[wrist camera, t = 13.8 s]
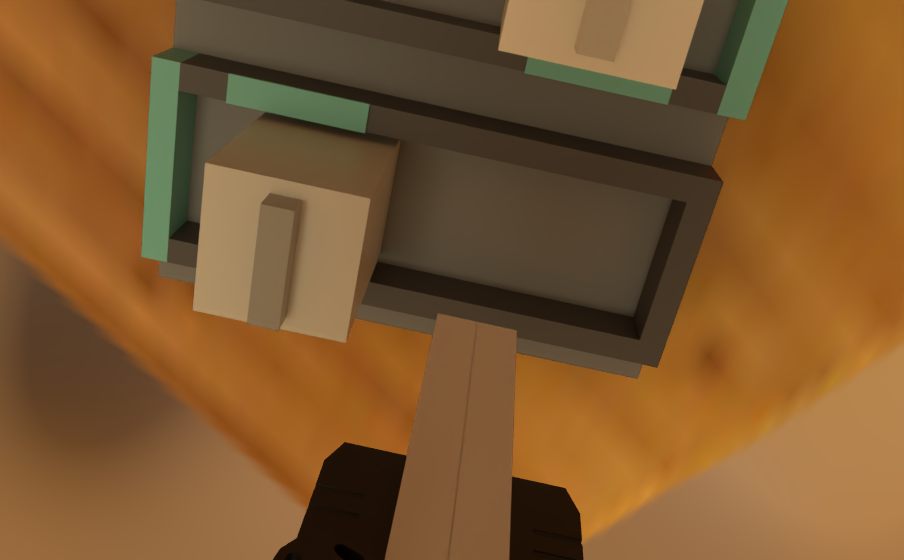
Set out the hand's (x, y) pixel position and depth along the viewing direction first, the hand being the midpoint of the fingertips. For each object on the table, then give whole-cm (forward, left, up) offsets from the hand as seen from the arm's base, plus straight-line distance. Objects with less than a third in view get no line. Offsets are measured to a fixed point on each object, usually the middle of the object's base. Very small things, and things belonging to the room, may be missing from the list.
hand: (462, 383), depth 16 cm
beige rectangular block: (-7, +1, -11) cm, 13 cm away
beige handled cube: (+1, -5, -11) cm, 12 cm away
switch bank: (-3, -2, -12) cm, 13 cm away
